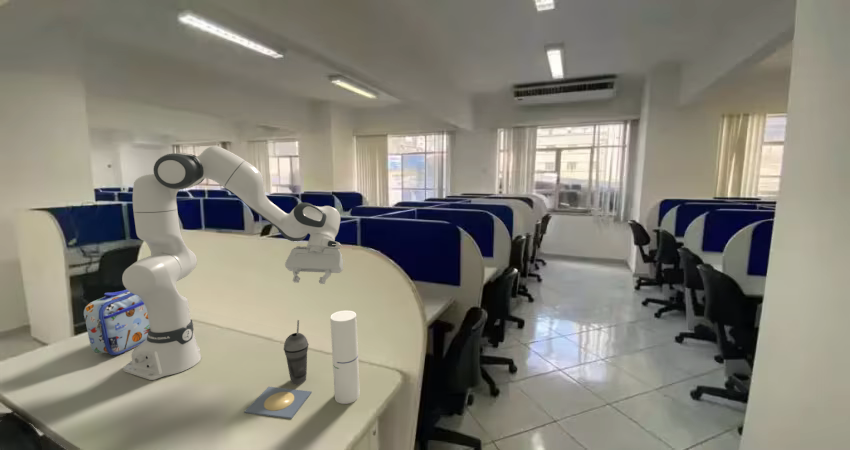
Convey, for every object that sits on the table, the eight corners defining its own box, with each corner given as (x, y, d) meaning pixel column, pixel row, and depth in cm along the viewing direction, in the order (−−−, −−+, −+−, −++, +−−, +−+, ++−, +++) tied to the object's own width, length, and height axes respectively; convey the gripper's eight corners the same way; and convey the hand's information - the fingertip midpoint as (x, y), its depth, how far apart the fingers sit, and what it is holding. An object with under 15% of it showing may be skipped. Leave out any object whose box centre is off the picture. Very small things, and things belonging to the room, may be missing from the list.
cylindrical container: (353, 405, 99) (350, 322, 94) (330, 402, 100) (325, 320, 96) (363, 389, 106) (360, 311, 101) (341, 386, 107) (337, 309, 103)
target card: (244, 412, 96) (244, 411, 96) (268, 387, 107) (268, 386, 107) (291, 418, 94) (291, 417, 94) (311, 392, 104) (311, 391, 104)
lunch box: (108, 364, 120) (97, 303, 116) (84, 360, 122) (72, 300, 118) (178, 327, 146) (171, 277, 143) (158, 325, 148) (150, 275, 145)
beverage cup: (290, 374, 114) (285, 316, 110) (313, 372, 114) (309, 315, 111) (283, 388, 107) (278, 326, 103) (307, 386, 107) (303, 325, 104)
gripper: (289, 241, 124) (275, 276, 117) (343, 243, 121) (333, 279, 113) (297, 250, 130) (284, 285, 122) (349, 252, 126) (339, 287, 118)
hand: (308, 282), depth 117 cm, fingers open, 8 cm apart
